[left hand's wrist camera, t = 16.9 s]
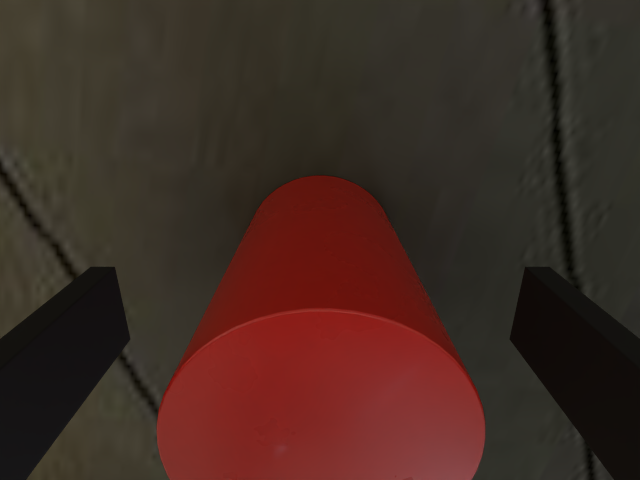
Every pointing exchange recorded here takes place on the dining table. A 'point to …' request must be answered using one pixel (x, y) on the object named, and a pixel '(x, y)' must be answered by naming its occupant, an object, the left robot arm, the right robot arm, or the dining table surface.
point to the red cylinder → (320, 357)
